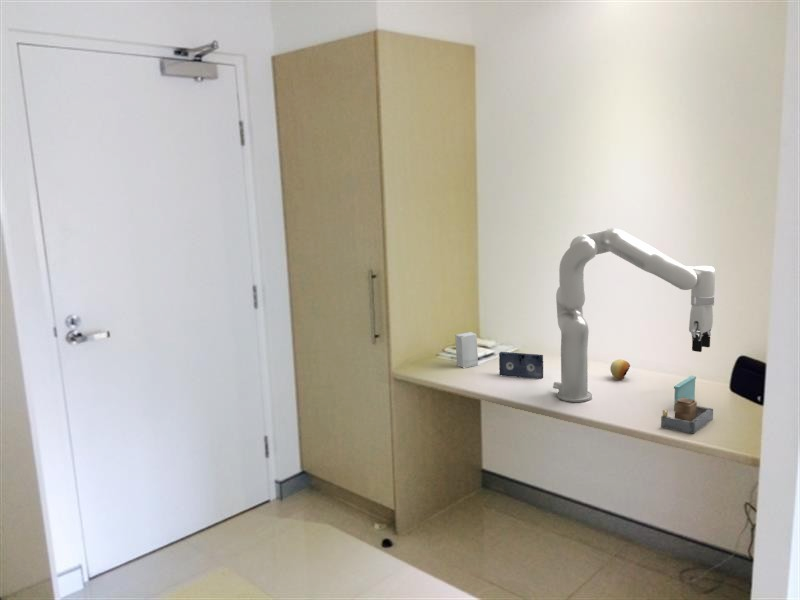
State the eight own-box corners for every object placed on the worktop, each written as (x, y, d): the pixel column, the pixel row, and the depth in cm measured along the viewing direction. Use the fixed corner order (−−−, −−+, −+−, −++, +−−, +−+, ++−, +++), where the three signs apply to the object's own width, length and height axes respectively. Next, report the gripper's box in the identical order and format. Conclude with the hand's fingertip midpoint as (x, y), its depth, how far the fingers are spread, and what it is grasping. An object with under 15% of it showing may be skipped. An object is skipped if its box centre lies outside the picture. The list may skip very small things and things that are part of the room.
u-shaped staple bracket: (660, 426, 209) (661, 410, 208) (681, 412, 220) (682, 397, 219) (692, 434, 202) (693, 417, 201) (713, 419, 213) (713, 403, 212)
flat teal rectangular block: (673, 410, 222) (673, 386, 220) (690, 399, 232) (691, 375, 231) (678, 411, 221) (678, 387, 219) (695, 400, 231) (696, 376, 230)
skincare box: (471, 362, 295) (470, 331, 292) (478, 365, 289) (477, 333, 287) (455, 365, 291) (454, 333, 289) (462, 368, 286) (461, 336, 283)
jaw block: (674, 422, 212) (674, 400, 210) (680, 418, 215) (681, 396, 214) (689, 426, 208) (690, 404, 207) (696, 422, 211) (696, 400, 210)
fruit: (627, 375, 264) (627, 356, 262) (632, 381, 255) (632, 362, 254) (608, 376, 264) (608, 357, 263) (612, 382, 256) (612, 362, 255)
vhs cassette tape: (543, 377, 267) (543, 354, 266) (541, 379, 265) (541, 356, 263) (501, 373, 276) (500, 351, 274) (499, 375, 273) (498, 353, 272)
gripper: (701, 296, 238) (699, 342, 241) (681, 303, 226) (680, 352, 229) (722, 297, 233) (720, 345, 236) (703, 305, 221) (702, 355, 224)
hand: (701, 348), depth 233 cm, fingers open, 6 cm apart
